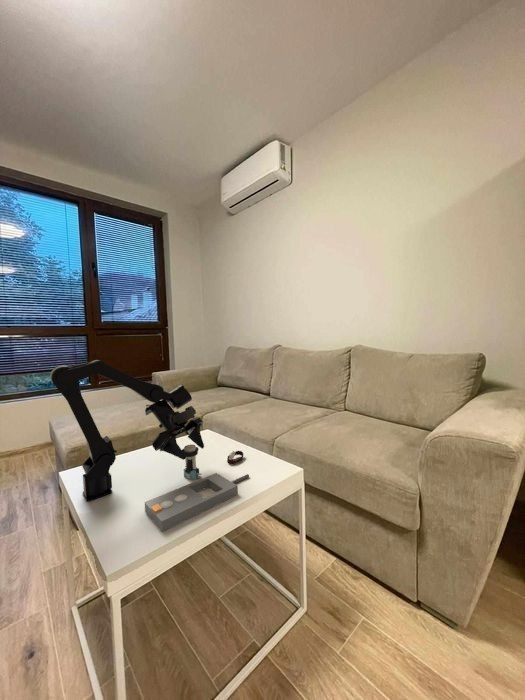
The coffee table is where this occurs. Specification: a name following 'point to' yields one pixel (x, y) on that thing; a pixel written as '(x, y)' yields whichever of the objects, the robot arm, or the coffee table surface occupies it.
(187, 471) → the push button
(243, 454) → the watch
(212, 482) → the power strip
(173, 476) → the coffee table surface
